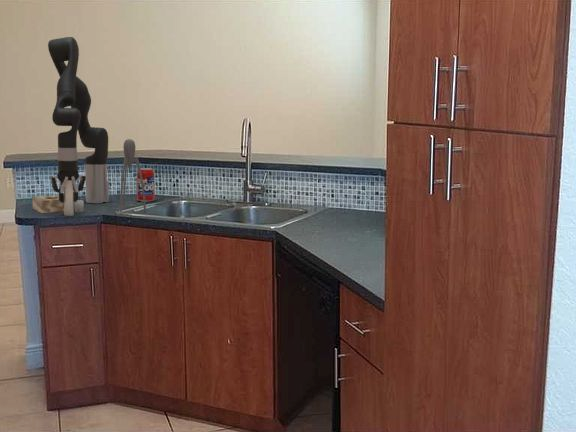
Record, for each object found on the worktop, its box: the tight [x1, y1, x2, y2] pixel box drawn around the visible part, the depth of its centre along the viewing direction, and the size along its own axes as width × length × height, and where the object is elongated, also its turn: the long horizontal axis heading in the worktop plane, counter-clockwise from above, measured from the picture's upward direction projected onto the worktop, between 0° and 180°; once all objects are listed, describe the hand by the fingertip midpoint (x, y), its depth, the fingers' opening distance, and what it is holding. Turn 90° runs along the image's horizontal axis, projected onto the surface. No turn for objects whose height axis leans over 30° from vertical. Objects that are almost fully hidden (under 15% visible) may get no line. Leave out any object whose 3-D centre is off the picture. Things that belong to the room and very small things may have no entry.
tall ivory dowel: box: [63, 180, 75, 217], centre depth 284 cm, size 4×4×14 cm
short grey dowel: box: [73, 199, 85, 213], centre depth 294 cm, size 4×4×4 cm
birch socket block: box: [31, 195, 64, 214], centre depth 296 cm, size 12×12×5 cm
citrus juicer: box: [119, 138, 147, 213], centre depth 295 cm, size 11×10×30 cm
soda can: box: [136, 167, 155, 203], centre depth 326 cm, size 8×8×15 cm
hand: (68, 201), depth 284 cm, fingers open, 4 cm apart
